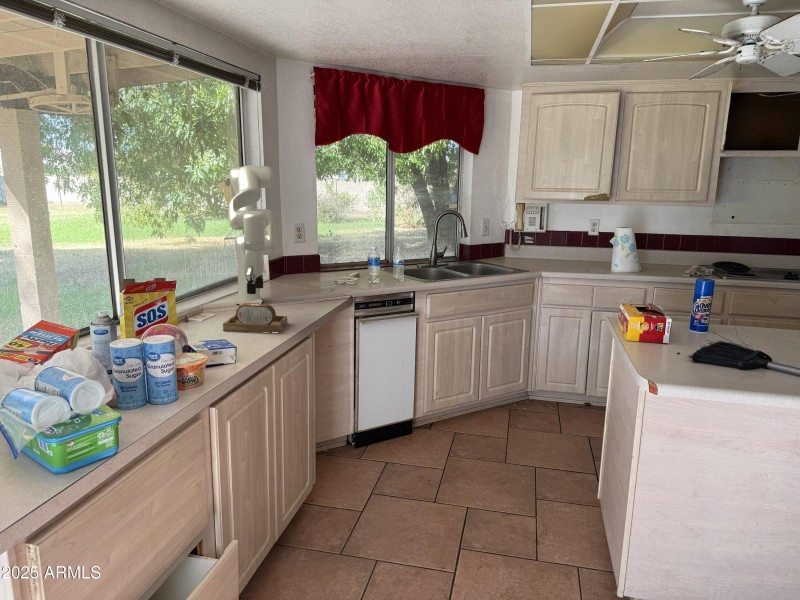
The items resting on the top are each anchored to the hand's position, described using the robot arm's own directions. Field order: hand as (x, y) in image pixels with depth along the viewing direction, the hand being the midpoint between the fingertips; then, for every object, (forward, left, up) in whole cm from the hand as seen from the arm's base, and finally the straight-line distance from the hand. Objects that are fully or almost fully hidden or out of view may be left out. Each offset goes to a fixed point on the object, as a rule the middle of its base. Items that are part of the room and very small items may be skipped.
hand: (255, 290), depth 206 cm
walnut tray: (0, 0, -14) cm, 14 cm away
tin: (+1, 0, -14) cm, 14 cm away
